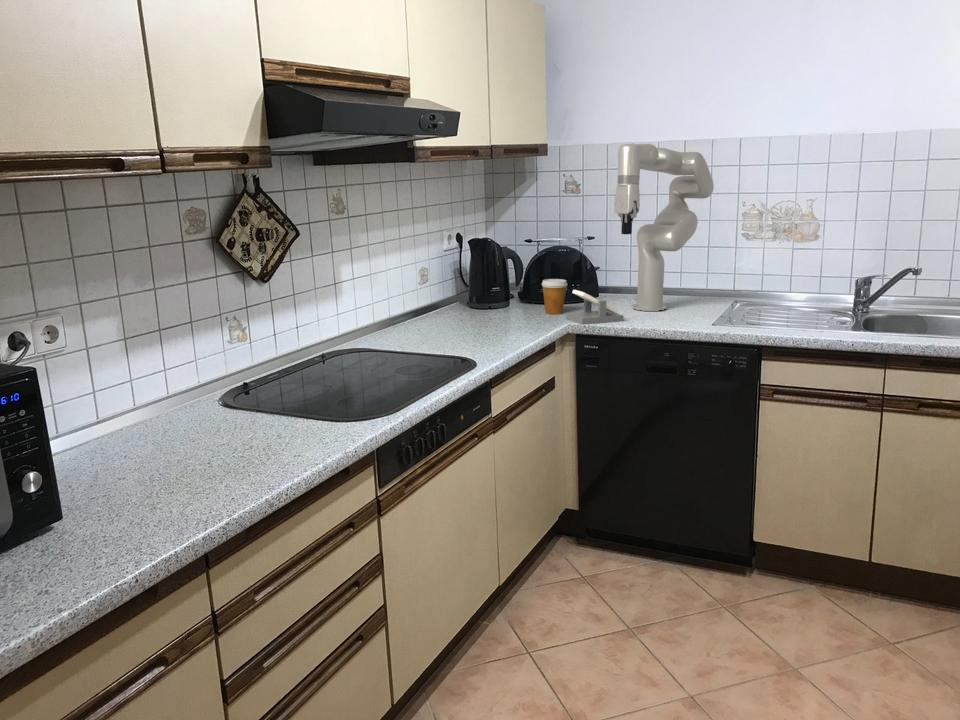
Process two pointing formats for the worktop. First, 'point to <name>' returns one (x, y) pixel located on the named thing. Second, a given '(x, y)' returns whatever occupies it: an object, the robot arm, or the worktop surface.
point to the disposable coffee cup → (554, 295)
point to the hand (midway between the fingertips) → (626, 234)
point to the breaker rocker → (593, 300)
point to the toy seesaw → (594, 314)
